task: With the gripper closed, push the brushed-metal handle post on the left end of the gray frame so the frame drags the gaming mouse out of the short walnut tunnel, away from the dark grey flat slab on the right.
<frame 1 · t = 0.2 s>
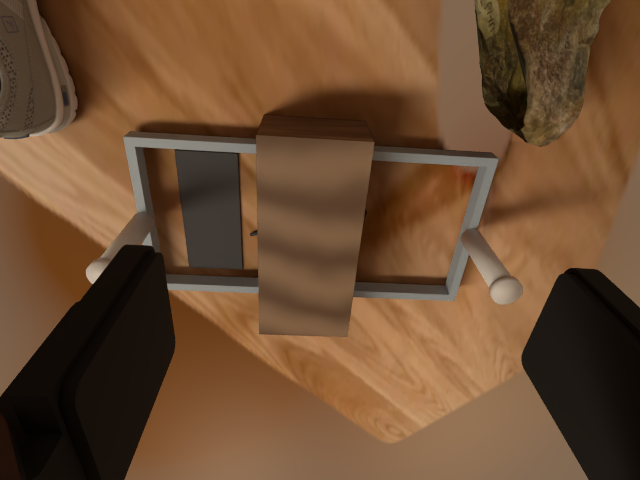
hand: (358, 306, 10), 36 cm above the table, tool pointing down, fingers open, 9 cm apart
rock: (520, 33, 40), on the table
gray frame: (310, 249, 44), point 7 cm above the table, slide at 0.2 cm, touching gaming mouse
dark grey flat slab: (211, 214, 49), on the table
tunnel: (309, 219, 50), on the table
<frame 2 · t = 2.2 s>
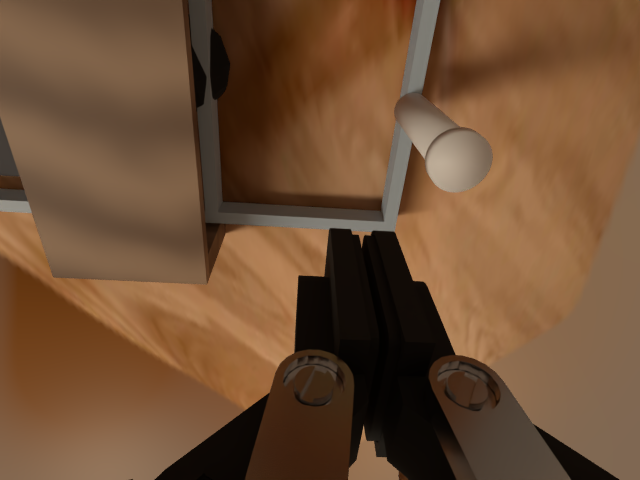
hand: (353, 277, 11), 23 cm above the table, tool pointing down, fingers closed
gaming mouse: (134, 80, 29), resting in gray frame
gray frame: (99, 103, 23), point 7 cm above the table, slide at 0.0 cm, touching gaming mouse
tunnel: (141, 82, 29), on the table
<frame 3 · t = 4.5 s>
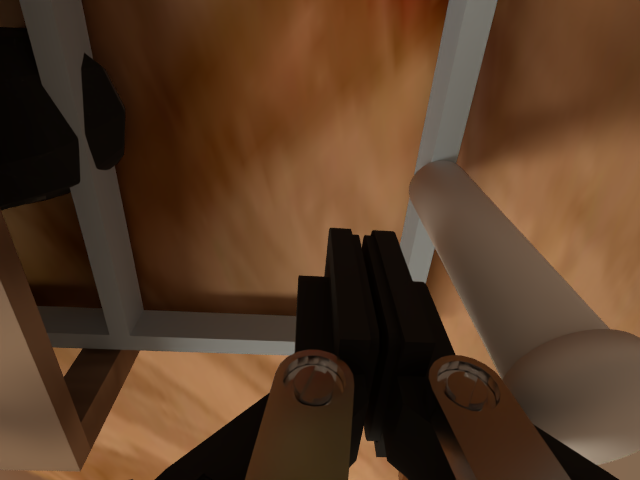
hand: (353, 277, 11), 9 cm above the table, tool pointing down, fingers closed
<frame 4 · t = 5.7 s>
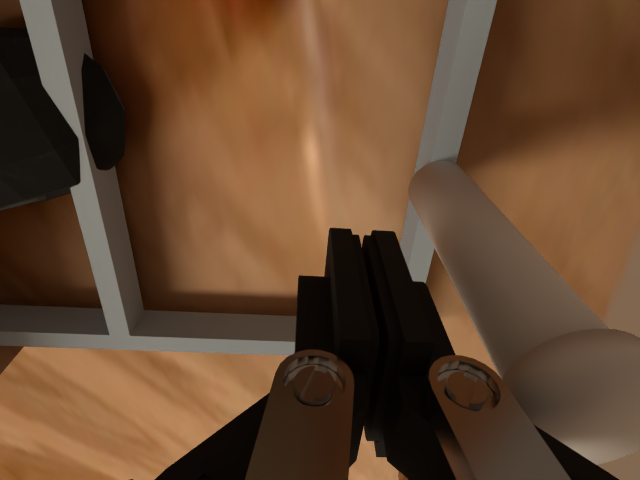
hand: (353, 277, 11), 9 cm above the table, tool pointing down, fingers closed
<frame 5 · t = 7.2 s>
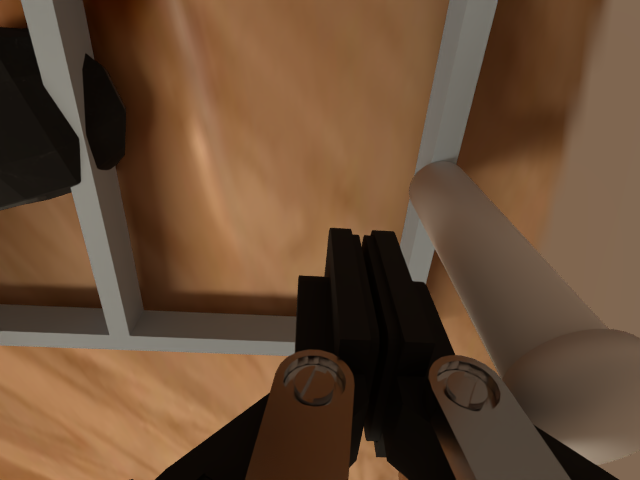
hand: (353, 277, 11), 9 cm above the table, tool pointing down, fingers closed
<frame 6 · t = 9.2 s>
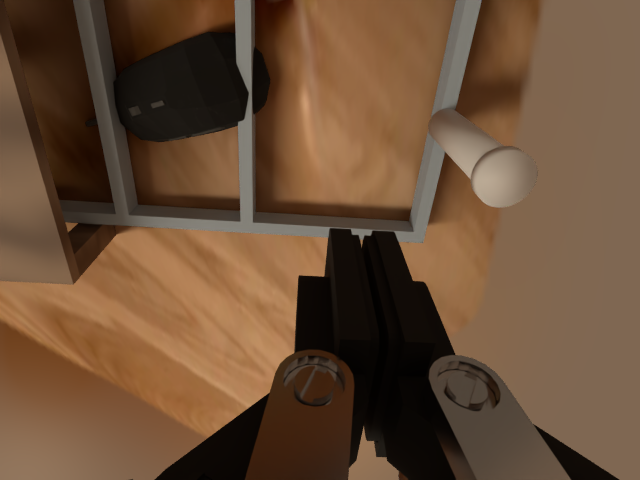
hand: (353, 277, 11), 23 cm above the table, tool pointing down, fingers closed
gaming mouse: (176, 95, 30), resting in gray frame
gray frame: (151, 120, 24), point 7 cm above the table, slide at 12.7 cm, touching gaming mouse
tunnel: (9, 84, 30), on the table
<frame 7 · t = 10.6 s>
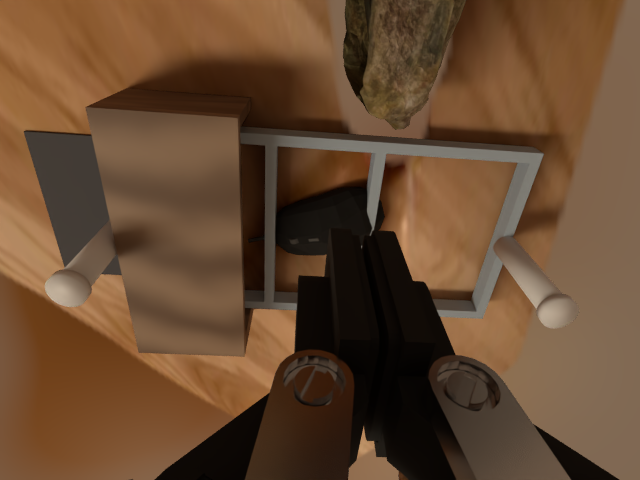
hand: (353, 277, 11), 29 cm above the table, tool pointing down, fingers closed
gaming mouse: (313, 222, 43), resting in gray frame
gray frame: (319, 259, 37), point 7 cm above the table, slide at 12.6 cm, touching gaming mouse
dark grey flat slab: (83, 210, 41), on the table
tunnel: (199, 216, 42), on the table
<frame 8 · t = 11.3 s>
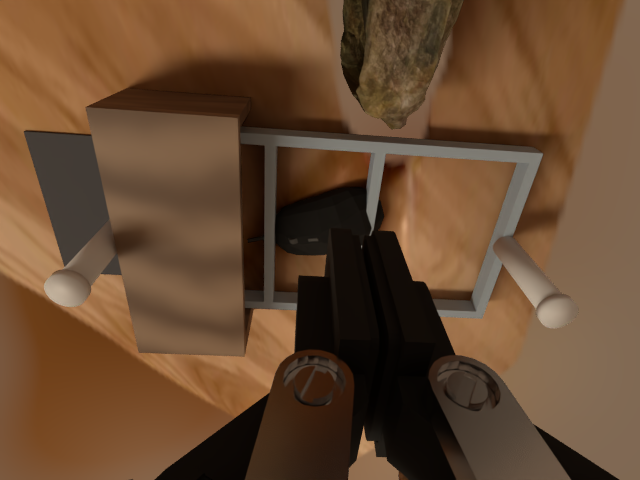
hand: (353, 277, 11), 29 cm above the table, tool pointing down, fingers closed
gaming mouse: (313, 222, 43), resting in gray frame
gray frame: (319, 259, 37), point 7 cm above the table, slide at 12.5 cm, touching gaming mouse
dark grey flat slab: (83, 209, 41), on the table
tunnel: (199, 216, 42), on the table
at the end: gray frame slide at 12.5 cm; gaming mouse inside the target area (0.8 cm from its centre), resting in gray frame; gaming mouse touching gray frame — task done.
